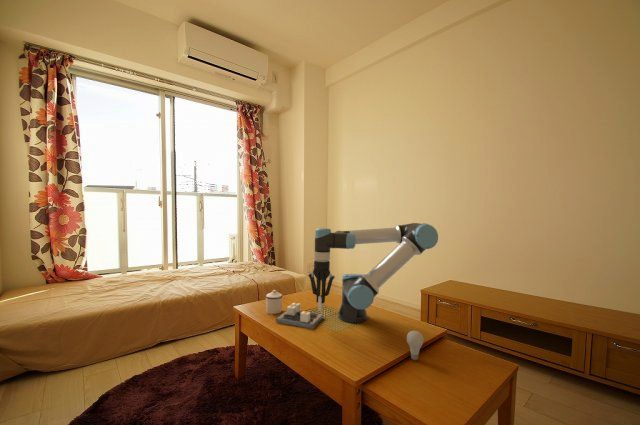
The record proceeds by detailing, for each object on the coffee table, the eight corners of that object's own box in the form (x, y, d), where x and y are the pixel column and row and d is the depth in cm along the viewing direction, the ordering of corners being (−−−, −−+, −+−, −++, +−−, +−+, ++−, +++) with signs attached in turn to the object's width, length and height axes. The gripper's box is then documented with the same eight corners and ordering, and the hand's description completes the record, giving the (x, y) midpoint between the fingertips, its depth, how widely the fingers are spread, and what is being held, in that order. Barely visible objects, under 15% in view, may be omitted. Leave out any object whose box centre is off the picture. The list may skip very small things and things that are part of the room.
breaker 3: (310, 320, 137) (310, 311, 137) (307, 322, 134) (308, 314, 134) (302, 319, 138) (302, 310, 138) (300, 321, 135) (300, 312, 135)
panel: (323, 318, 146) (323, 312, 146) (312, 329, 132) (313, 323, 132) (289, 312, 153) (289, 307, 153) (275, 322, 139) (275, 316, 139)
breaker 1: (296, 314, 145) (296, 306, 145) (293, 316, 142) (293, 307, 142) (289, 313, 146) (289, 305, 146) (286, 314, 144) (286, 306, 144)
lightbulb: (409, 354, 110) (410, 326, 110) (425, 359, 106) (426, 330, 106) (403, 360, 106) (404, 331, 106) (419, 366, 102) (420, 336, 102)
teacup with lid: (285, 311, 155) (285, 290, 155) (271, 315, 148) (272, 293, 148) (272, 306, 163) (272, 286, 163) (259, 309, 156) (259, 289, 156)
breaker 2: (300, 311, 150) (300, 303, 150) (297, 312, 147) (297, 304, 147) (293, 310, 151) (293, 302, 151) (290, 311, 148) (291, 303, 148)
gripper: (337, 260, 135) (335, 309, 135) (312, 258, 139) (310, 305, 139) (332, 262, 128) (330, 314, 128) (306, 260, 132) (304, 309, 132)
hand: (320, 309), depth 133 cm, fingers closed
